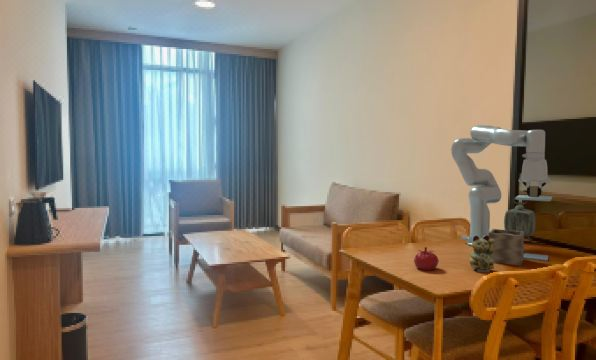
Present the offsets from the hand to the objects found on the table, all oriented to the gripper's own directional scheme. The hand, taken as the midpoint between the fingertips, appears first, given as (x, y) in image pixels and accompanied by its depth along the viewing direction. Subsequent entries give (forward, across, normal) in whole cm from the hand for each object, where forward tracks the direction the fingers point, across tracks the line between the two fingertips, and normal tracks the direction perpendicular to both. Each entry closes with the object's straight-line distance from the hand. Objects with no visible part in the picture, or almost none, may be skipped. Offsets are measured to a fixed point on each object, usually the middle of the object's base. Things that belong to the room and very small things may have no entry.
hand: (533, 196), depth 191 cm
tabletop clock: (+29, -10, +40) cm, 50 cm away
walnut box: (+29, -9, -12) cm, 33 cm away
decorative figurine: (+29, -16, -36) cm, 49 cm away
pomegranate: (+29, -35, -46) cm, 65 cm away
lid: (+1, 0, 0) cm, 1 cm away
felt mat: (+29, +1, +2) cm, 29 cm away
